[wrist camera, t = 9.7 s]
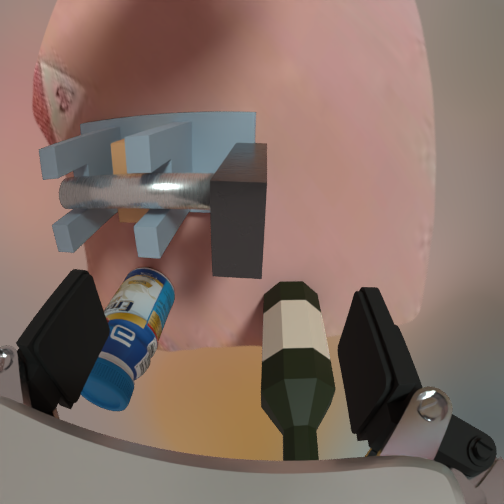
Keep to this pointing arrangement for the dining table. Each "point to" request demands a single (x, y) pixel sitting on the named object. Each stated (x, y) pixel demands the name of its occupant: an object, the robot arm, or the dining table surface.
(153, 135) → the bearing block
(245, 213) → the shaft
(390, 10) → the dining table surface
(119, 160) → the tan square block
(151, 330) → the beverage bottle
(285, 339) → the wine bottle
